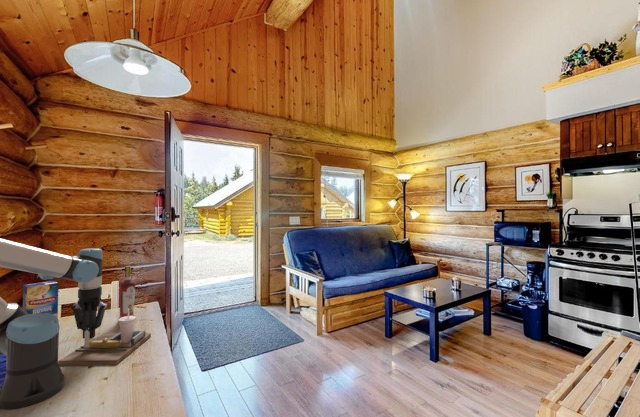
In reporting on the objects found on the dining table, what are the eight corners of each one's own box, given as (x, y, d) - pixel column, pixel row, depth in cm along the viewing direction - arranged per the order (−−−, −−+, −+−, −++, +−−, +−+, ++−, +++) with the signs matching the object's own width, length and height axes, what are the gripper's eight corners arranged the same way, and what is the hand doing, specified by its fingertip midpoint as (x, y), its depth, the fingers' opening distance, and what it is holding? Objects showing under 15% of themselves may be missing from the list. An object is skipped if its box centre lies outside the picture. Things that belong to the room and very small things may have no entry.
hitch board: (116, 364, 109) (117, 358, 109) (58, 364, 108) (58, 359, 108) (150, 336, 133) (150, 332, 133) (102, 337, 132) (103, 332, 132)
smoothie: (126, 344, 122) (127, 311, 122) (113, 343, 123) (114, 309, 123) (139, 338, 128) (139, 306, 128) (126, 336, 129) (127, 305, 129)
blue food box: (57, 328, 141) (58, 282, 141) (25, 336, 132) (27, 287, 132) (53, 325, 145) (54, 280, 145) (21, 332, 136) (23, 285, 136)
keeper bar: (117, 349, 117) (117, 339, 117) (89, 350, 116) (89, 340, 117) (120, 347, 119) (120, 337, 119) (92, 347, 118) (92, 338, 118)
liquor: (130, 316, 158) (131, 264, 158) (137, 319, 154) (138, 265, 155) (115, 320, 152) (116, 266, 152) (122, 323, 148) (123, 268, 148)
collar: (134, 344, 122) (134, 338, 122) (109, 344, 121) (109, 338, 121) (145, 335, 131) (145, 330, 131) (122, 335, 130) (122, 330, 130)
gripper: (113, 284, 122) (111, 341, 121) (80, 284, 121) (78, 342, 121) (100, 289, 114) (99, 350, 114) (65, 289, 113) (64, 350, 113)
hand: (88, 346), depth 117 cm, fingers closed
